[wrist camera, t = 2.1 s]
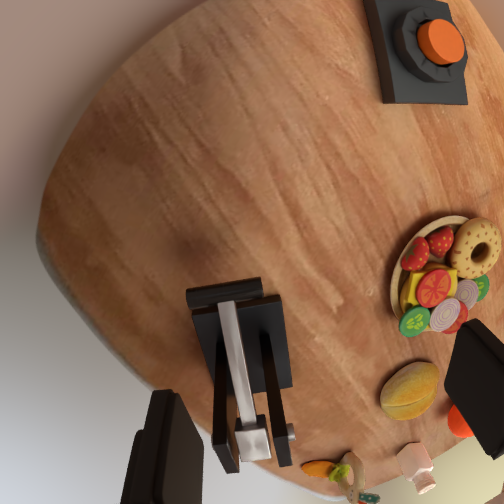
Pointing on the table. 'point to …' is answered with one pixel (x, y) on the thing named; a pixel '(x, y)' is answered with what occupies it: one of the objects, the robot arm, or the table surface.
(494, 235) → the toy food set
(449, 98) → the control block
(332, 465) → the rattle
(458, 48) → the button
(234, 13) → the table surface
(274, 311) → the bracket
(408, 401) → the bread roll
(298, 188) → the table surface
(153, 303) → the table surface
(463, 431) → the clementine
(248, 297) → the lever
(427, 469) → the salt shaker
